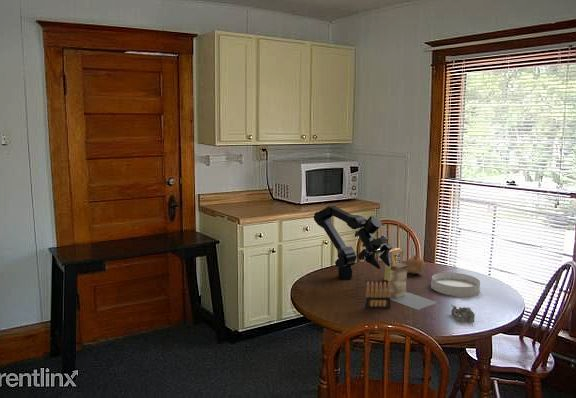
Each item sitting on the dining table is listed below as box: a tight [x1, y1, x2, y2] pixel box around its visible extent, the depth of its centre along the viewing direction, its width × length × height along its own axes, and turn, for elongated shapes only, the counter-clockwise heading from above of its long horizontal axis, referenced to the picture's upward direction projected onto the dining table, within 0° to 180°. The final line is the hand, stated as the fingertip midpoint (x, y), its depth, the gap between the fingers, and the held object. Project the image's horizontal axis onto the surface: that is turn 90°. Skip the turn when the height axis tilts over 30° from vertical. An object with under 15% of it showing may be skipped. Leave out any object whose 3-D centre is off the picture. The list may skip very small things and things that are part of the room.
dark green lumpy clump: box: [450, 304, 476, 324], centre depth 213 cm, size 11×8×4 cm
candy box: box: [383, 247, 404, 283], centre depth 260 cm, size 9×4×15 cm, turn 129°
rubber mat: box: [382, 287, 438, 311], centre depth 235 cm, size 26×14×1 cm, turn 39°
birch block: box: [390, 263, 408, 298], centre depth 236 cm, size 4×6×14 cm
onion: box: [405, 254, 426, 275], centre depth 270 cm, size 10×9×10 cm
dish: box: [430, 272, 481, 298], centre depth 248 cm, size 22×22×5 cm
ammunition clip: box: [364, 280, 391, 310], centre depth 222 cm, size 11×2×12 cm, turn 90°
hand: (384, 267), depth 242 cm, fingers open, 6 cm apart
